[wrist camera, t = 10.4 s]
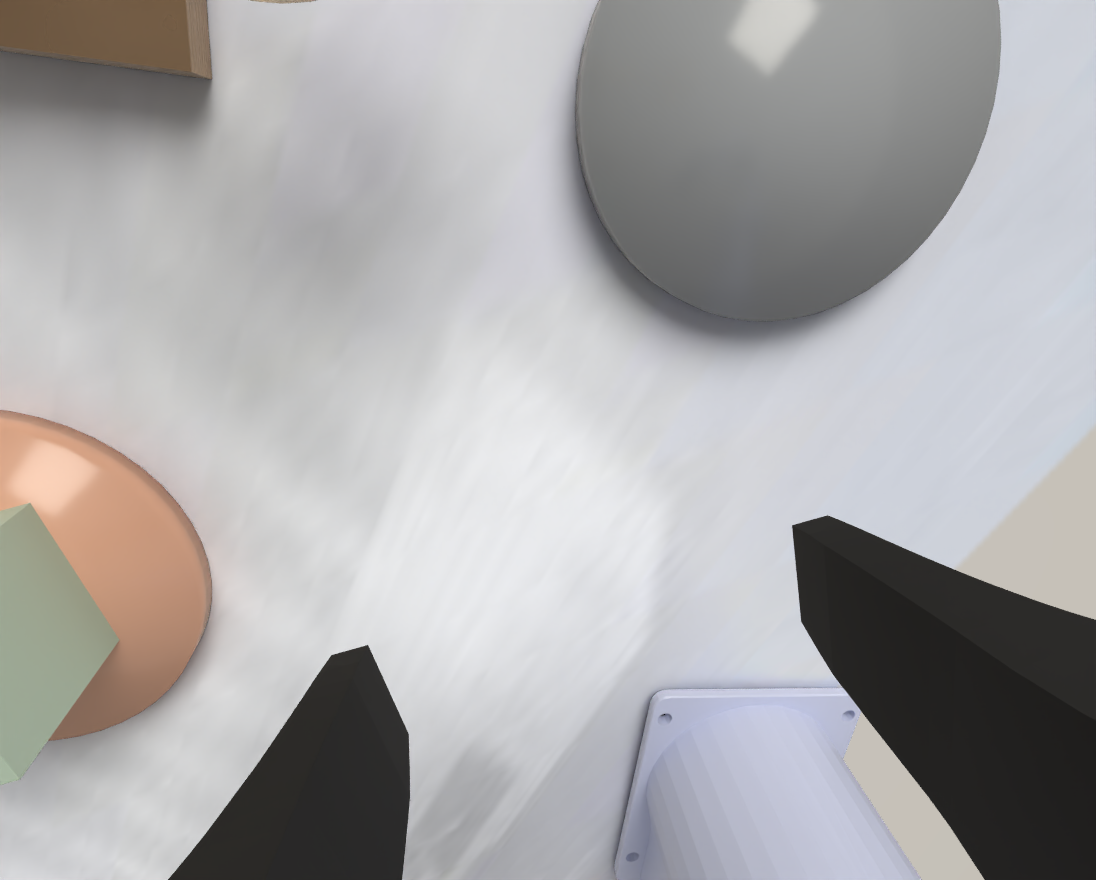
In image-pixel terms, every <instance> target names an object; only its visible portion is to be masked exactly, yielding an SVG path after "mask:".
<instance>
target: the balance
mask: <svg viewBox="0 0 1096 880" xmlns="http://www.w3.org/2000/svg"><path fill="white" fill-rule="evenodd" d="M250 1H258V2H270V3H282V4H283V3H298V2H311V1H316V0H250ZM0 51H5V52H13V53H20V54H27V55H35V56H42V57H50V58H57V59H64V60H72V61H79V62H87V63H94V64H101V65H109V66H116V67H124V68H131V69H138V70H146V71H153V72H161V73H168V74H175V75H183V76H190V77H198V78H205V79H212V72H211V58H210V44H209V31H208V17H207V3H206V0H0Z"/></svg>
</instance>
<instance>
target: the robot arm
mask: <svg viewBox="0 0 1096 880" xmlns="http://www.w3.org/2000/svg"><path fill="white" fill-rule="evenodd" d="M792 529H793V539H794V550H795V560H796V571H797V581H798V592H799V602H800V613H801V622H802V624H803V625H804V627H805V629H806V630H807V632H808V634H809V636H810V637H811V639H812V641H813V642H814V644H815V646H816V648H817V649H818V651H819V653H820V654H821V656H822V657H823V659H824V661H825V662H826V664H827V666H828V667H829V669H830V670H831V672H832V674H833V675H834V676H835V678H836V679H837V680H838V682H839V683H840V684H841V686H842V687H843V688H761V689H667V690H661V691H659V692H657V693H656V694H655V695H654V696H653V697H652V699H651V701H650V706H649V711H648V715H647V720H646V724H645V729H644V733H643V738H642V742H641V747H640V751H639V756H638V760H637V765H636V769H635V774H634V778H633V783H632V788H631V792H630V797H629V801H628V806H627V810H626V815H625V819H624V824H623V828H622V833H621V837H620V842H619V846H618V851H617V855H616V860H615V865H614V871H615V875H616V878H617V879H618V880H922V879H921V877H920V876H919V874H918V873H917V871H916V870H915V868H914V867H913V865H912V864H911V862H910V861H909V859H908V858H907V856H906V855H905V853H904V852H903V850H902V849H901V847H900V846H899V844H898V842H897V841H896V839H895V838H894V837H893V835H892V833H891V832H890V830H889V829H888V827H887V826H886V824H885V823H884V821H883V820H882V818H881V817H880V815H879V813H878V812H877V810H876V809H875V807H874V806H873V804H872V803H871V801H870V800H869V798H868V797H867V795H866V794H865V792H864V791H863V789H862V788H861V786H860V785H859V783H858V781H857V780H856V778H855V777H854V775H853V774H852V772H851V771H850V769H849V768H848V767H847V765H846V763H845V762H844V760H843V758H844V755H845V753H846V750H847V747H848V745H849V742H850V739H851V737H852V734H853V731H854V729H855V726H856V723H857V721H858V718H859V716H860V713H861V712H862V713H863V714H864V715H865V717H866V718H867V719H868V721H869V722H870V723H871V724H872V726H873V727H874V728H875V729H876V731H877V732H878V733H879V734H880V736H881V737H882V738H883V739H884V741H885V742H886V743H887V745H888V746H889V747H890V748H891V750H892V751H893V752H894V754H895V755H896V756H897V757H898V759H899V760H900V761H901V763H902V764H903V765H904V766H905V768H906V769H907V770H908V771H909V773H910V774H911V775H912V777H913V778H914V779H915V780H916V782H917V783H918V784H919V785H920V787H921V788H922V789H923V791H924V792H925V793H926V794H927V796H928V797H929V798H930V800H931V801H932V802H933V803H934V805H935V807H936V808H937V809H938V811H939V812H940V813H941V815H942V816H943V818H944V819H945V820H946V822H947V823H948V824H949V826H950V827H951V829H952V830H953V832H954V833H955V835H956V836H957V838H958V839H959V841H960V843H961V844H962V846H963V847H964V849H965V850H966V852H967V853H968V855H969V856H970V858H971V859H972V861H973V862H974V864H975V866H976V867H977V869H978V870H979V871H980V873H981V875H982V876H983V878H984V879H985V880H1096V620H1094V619H1091V618H1088V617H1084V616H1081V615H1077V614H1074V613H1071V612H1068V611H1065V610H1062V609H1059V608H1056V607H1053V606H1050V605H1047V604H1044V603H1041V602H1038V601H1035V600H1032V599H1030V598H1027V597H1024V596H1021V595H1019V594H1016V593H1013V592H1011V591H1008V590H1005V589H1003V588H1000V587H997V586H994V585H992V584H989V583H986V582H984V581H981V580H979V579H976V578H974V577H971V576H968V575H966V574H964V573H961V572H959V571H956V570H954V569H951V568H949V567H946V566H944V565H942V564H939V563H937V562H935V561H932V560H930V559H927V558H925V557H923V556H920V555H918V554H916V553H914V552H911V551H909V550H907V549H904V548H902V547H900V546H898V545H895V544H893V543H891V542H888V541H886V540H884V539H882V538H879V537H877V536H875V535H873V534H870V533H868V532H866V531H864V530H861V529H859V528H857V527H854V526H852V525H850V524H847V523H845V522H843V521H840V520H838V519H835V518H833V517H830V516H824V517H820V518H817V519H813V520H810V521H806V522H803V523H799V524H796V525H792ZM666 713H667V714H666ZM662 714H665V715H664V716H661V715H662ZM409 801H410V764H409V734H408V732H407V730H406V727H405V725H404V723H403V721H402V719H401V716H400V714H399V712H398V710H397V708H396V705H395V703H394V701H393V699H392V697H391V695H390V692H389V690H388V688H387V686H386V684H385V681H384V679H383V677H382V675H381V673H380V670H379V668H378V666H377V664H376V662H375V659H374V657H373V655H372V653H371V651H370V648H369V646H368V645H366V646H363V647H359V648H356V649H352V650H349V651H345V652H342V653H338V654H334V655H331V657H330V658H329V660H328V661H327V662H326V664H325V665H324V667H323V668H322V669H321V671H320V672H319V674H318V675H317V677H316V678H315V680H314V681H313V683H312V684H311V686H310V687H309V689H308V690H307V692H306V693H305V695H304V696H303V698H302V699H301V701H300V702H299V704H298V705H297V707H296V708H295V710H294V711H293V713H292V714H291V716H290V717H289V719H288V720H287V722H286V723H285V725H284V726H283V728H282V729H281V731H280V732H279V734H278V735H277V736H276V738H275V739H274V741H273V742H272V744H271V745H270V747H269V748H268V750H267V751H266V752H265V754H264V755H263V757H262V758H261V760H260V761H259V763H258V764H257V766H256V767H255V768H254V770H253V771H252V772H251V774H250V775H249V776H248V778H247V779H246V780H245V782H244V783H243V784H242V786H241V787H240V788H239V790H238V791H237V793H236V794H235V795H234V797H233V798H232V799H231V801H230V802H229V803H228V805H227V806H226V807H225V809H224V810H223V811H222V813H221V814H220V815H219V817H218V818H217V819H216V821H215V822H214V823H213V825H212V826H211V827H210V829H209V830H208V831H207V833H206V834H205V835H204V836H203V838H202V839H201V840H200V842H199V843H198V844H197V845H196V847H195V848H194V849H193V850H192V852H191V853H190V854H189V855H188V856H187V858H186V859H185V860H184V861H183V863H182V864H181V865H180V866H179V867H178V869H177V870H176V871H175V872H174V873H173V874H172V876H171V877H170V878H169V879H168V880H402V874H403V864H404V854H405V844H406V834H407V824H408V813H409Z"/></svg>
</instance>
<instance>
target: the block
mask: <svg viewBox="0 0 1096 880" xmlns="http://www.w3.org/2000/svg"><path fill="white" fill-rule="evenodd" d="M118 641H119V638H118V637H117V635H116V634H115V632H114V631H113V629H112V628H111V626H110V624H109V623H108V621H107V620H106V618H105V617H104V615H103V614H102V612H101V611H100V609H99V608H98V606H97V605H96V603H95V601H94V600H93V598H92V597H91V595H90V594H89V592H88V591H87V589H86V588H85V586H84V585H83V583H82V582H81V580H80V578H79V577H78V575H77V574H76V572H75V571H74V569H73V568H72V566H71V565H70V563H69V562H68V560H67V558H66V557H65V555H64V554H63V552H62V551H61V549H60V548H59V546H58V545H57V543H56V542H55V540H54V539H53V537H52V535H51V534H50V532H49V531H48V529H47V528H46V526H45V525H44V523H43V522H42V520H41V519H40V517H39V516H38V514H37V512H36V511H35V509H34V508H33V506H32V505H31V503H27V504H24V505H20V506H16V507H12V508H9V509H5V510H1V511H0V785H2V784H6V783H10V782H13V781H17V780H20V779H21V778H22V776H23V775H24V774H25V772H26V771H27V769H28V768H29V767H30V765H31V764H32V762H33V761H34V760H35V758H36V757H37V755H38V754H39V752H40V751H41V750H42V748H43V747H44V745H45V744H46V743H47V741H48V740H49V738H50V737H51V736H52V734H53V733H54V731H55V730H56V729H57V727H58V726H59V724H60V723H61V722H62V720H63V719H64V717H65V716H66V715H67V713H68V712H69V710H70V709H71V707H72V706H73V705H74V703H75V702H76V700H77V699H78V698H79V696H80V695H81V693H82V692H83V691H84V689H85V688H86V686H87V685H88V684H89V682H90V681H91V679H92V678H93V677H94V675H95V674H96V672H97V671H98V670H99V668H100V667H101V665H102V664H103V662H104V661H105V660H106V658H107V657H108V655H109V654H110V653H111V651H112V650H113V648H114V647H115V646H116V644H117V643H118Z"/></svg>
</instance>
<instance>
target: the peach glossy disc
mask: <svg viewBox="0 0 1096 880" xmlns="http://www.w3.org/2000/svg"><path fill="white" fill-rule="evenodd" d="M27 503H31V505H32V506H33V508H34V509H35V511H36V512H37V514H38V516H39V517H40V519H41V520H42V522H43V523H44V525H45V526H46V528H47V529H48V531H49V532H50V534H51V535H52V537H53V539H54V540H55V542H56V543H57V545H58V546H59V548H60V549H61V551H62V552H63V554H64V555H65V557H66V558H67V560H68V562H69V563H70V565H71V566H72V568H73V569H74V571H75V572H76V574H77V575H78V577H79V578H80V580H81V582H82V583H83V585H84V586H85V588H86V589H87V591H88V592H89V594H90V595H91V597H92V598H93V600H94V601H95V603H96V605H97V606H98V608H99V609H100V611H101V612H102V614H103V615H104V617H105V618H106V620H107V621H108V623H109V624H110V626H111V628H112V629H113V631H114V632H115V634H116V635H117V637H118V638H119V641H118V643H117V644H116V646H115V647H114V648H113V650H112V651H111V653H110V654H109V655H108V657H107V658H106V660H105V661H104V662H103V664H102V665H101V667H100V668H99V670H98V671H97V672H96V674H95V675H94V677H93V678H92V679H91V681H90V682H89V684H88V685H87V686H86V688H85V689H84V691H83V692H82V693H81V695H80V696H79V698H78V699H77V700H76V702H75V703H74V705H73V706H72V707H71V709H70V710H69V712H68V713H67V715H66V716H65V717H64V719H63V720H62V722H61V723H60V724H59V726H58V727H57V729H56V730H55V731H54V733H53V734H52V736H51V737H50V738H49V740H48V741H50V740H59V739H65V738H72V737H78V736H82V735H86V734H89V733H93V732H97V731H101V730H103V729H106V728H109V727H111V726H114V725H116V724H119V723H121V722H123V721H125V720H127V719H129V718H131V717H133V716H135V715H137V714H139V713H140V712H142V711H143V710H145V709H146V708H147V707H149V706H150V705H152V704H153V703H154V702H156V701H157V700H158V699H159V698H160V697H161V696H162V695H163V694H164V693H166V692H167V691H168V690H169V689H170V688H171V686H172V685H173V684H174V683H175V681H176V680H177V679H178V678H179V676H180V675H181V674H182V672H183V670H184V668H185V667H186V665H187V663H188V661H189V659H190V657H191V656H192V654H193V652H194V650H195V648H196V646H197V644H198V643H199V641H200V639H201V637H202V635H203V633H204V630H205V627H206V624H207V621H208V618H209V613H210V607H211V601H212V582H211V575H210V570H209V564H208V560H207V557H206V554H205V551H204V548H203V546H202V543H201V540H200V539H199V537H198V535H197V533H196V531H195V529H194V527H193V525H192V523H191V522H190V520H189V519H188V517H187V516H186V514H185V513H184V512H183V510H182V509H181V507H180V506H179V504H178V503H177V502H176V501H175V500H174V499H173V498H172V496H171V495H170V494H169V493H168V492H167V491H166V490H165V489H164V488H163V486H162V485H161V484H159V483H158V482H157V481H156V480H155V479H154V478H153V477H152V476H150V475H149V474H148V473H147V472H146V471H145V470H144V469H142V468H141V467H140V466H138V465H137V464H135V463H134V462H133V461H131V460H130V459H128V458H127V457H126V456H124V455H123V454H121V453H120V452H118V451H116V450H115V449H113V448H111V447H109V446H107V445H106V444H104V443H102V442H100V441H99V440H97V439H95V438H93V437H91V436H88V435H86V434H84V433H81V432H79V431H77V430H74V429H72V428H70V427H67V426H64V425H61V424H58V423H55V422H52V421H49V420H46V419H42V418H39V417H35V416H30V415H25V414H21V413H16V412H11V411H4V410H0V511H1V510H5V509H9V508H12V507H16V506H20V505H24V504H27Z"/></svg>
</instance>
